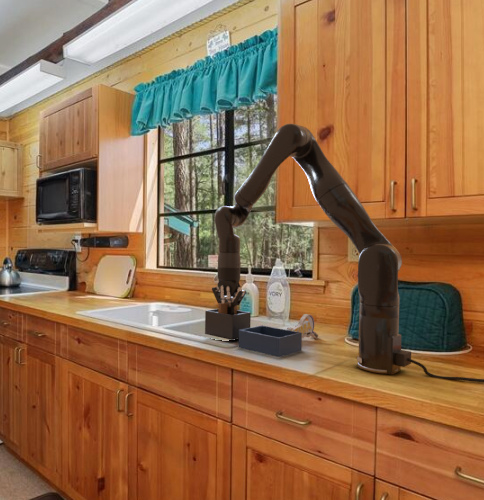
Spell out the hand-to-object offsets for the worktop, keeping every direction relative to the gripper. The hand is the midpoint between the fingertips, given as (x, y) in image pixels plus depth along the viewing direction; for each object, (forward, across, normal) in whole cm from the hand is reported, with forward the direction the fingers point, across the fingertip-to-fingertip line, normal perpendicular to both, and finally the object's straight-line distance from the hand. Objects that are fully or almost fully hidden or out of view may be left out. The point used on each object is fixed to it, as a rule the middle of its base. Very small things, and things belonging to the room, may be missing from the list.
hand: (228, 317), depth 147 cm
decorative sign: (+8, +17, +18) cm, 26 cm away
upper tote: (+6, 0, 0) cm, 6 cm away
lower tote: (+8, +17, -1) cm, 19 cm away
